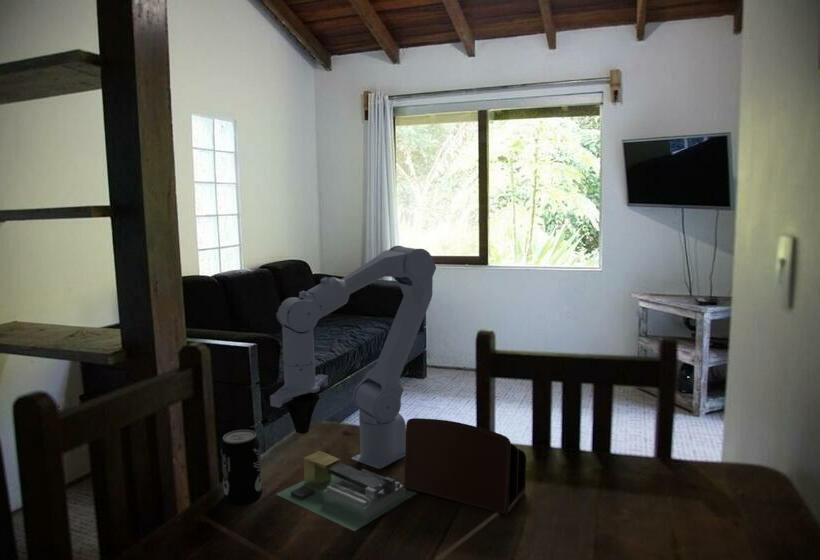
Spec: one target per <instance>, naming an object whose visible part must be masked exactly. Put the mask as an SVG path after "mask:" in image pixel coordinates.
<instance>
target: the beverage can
mask: <svg viewBox="0 0 820 560" xmlns="http://www.w3.org/2000/svg"><path fill="white" fill-rule="evenodd" d="M260 449H261V448H260V440H259V438H258V437H257V433H256V432H255V430H251V429H237V430H232V431H229V432H227V433H225V434H224V435H223V437H222V443H221V445H220V455H221V456H220V457H221V468H222V470H221V471H222V472H221V473H222V483H223V484H222V486H223V499H224V501H225V502H226V503H227V504H230V505H233V506H242V505H249V504H251V503H254V502H255V501H257V500H260V498H261V497H262V494H263V485H262V484H263V483H262V482H263V481H262V471H261V469H262V468H261V453H260V452H261V450H260Z"/></svg>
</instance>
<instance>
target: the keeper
mask: <svg viewBox="0 0 820 560" xmlns="http://www.w3.org/2000/svg"><path fill="white" fill-rule="evenodd" d="M338 463H341V459H340V458H338V457H335V456H333V455H331V454H329V453H326V452H324V451H321V450H318V451H316V452H314V453H311V454H309V455H307V456H305V457H303V481H305V484H307V485H310V486H312V487H314V488H316V487H318V486H320V485H322V484H324V483H326V482H328V481H330V480H331V474H330V473H328V468H330V467H332V466H334V465H336V464H338Z"/></svg>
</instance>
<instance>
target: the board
mask: <svg viewBox="0 0 820 560" xmlns="http://www.w3.org/2000/svg"><path fill="white" fill-rule="evenodd" d="M346 465H347V466H349V467H352V468H354V469H356V470H358V469H357V467H354V466H351V465H349V464H346ZM343 480H344V479H341V478H339V477H337V476H335V475H332V474H331V480H330V481H328V482H326V483H324V484H322V485H320V486H318V487H316V488H314V487H312V486H310V485H307V484H305V481H304V480H301V481H300V482H298V483H296V484H294V485H292V486H289V487H288V488H285V489H284V490H281V491H279V492H277V493H275V496H278V497H280V498H282V499H285V500H286V501H288V502H291V503H292V504H295V505H297V506H299V507H302V508H304V509H305V510H308V511H309V512H312V513H314V514H317V515H318V516H320V517H322V518H324V519H327V520H328V521H331V522H333V523H335V524H337V525H340V526H342V527H344V528H346V529H348V530H350V531H353V532H356V531H358V530H359V529H361V528H363V527H364V526H366V525H367V524H370V522H372V521H374V520H376V519H378V518H379V517H380V516H383V515H384V514H385V513H387V512H389V511H390V510H392V509H394V508H396V507H398V506H399V505H401V504H402V503H404V502H406V501H407V500H408V499H411V498H412V497H414V496H415V495H417V494H418V492H416V491H412V490H408V489H405V488H404V498H405V499H403V500H401V501H400V502H398V503H396V504H395V505H393V506H391V507H390V508H388V509H386V510H385V511H383V512H381V513H380V514H378V515H377V516H375V517H373V518H372V519H370V520H368V521H367V522H363V521H361V520H359V519H357V518H354V517H352V516H350V515H348V514H345V513H343V512H341V511H339V510H337V509H334V508H332V507H330V506H328V505H325V504H324V501H323V491H324V490H326V489H327V487H329V486H333V485H334V483H339V482H341V481H343Z"/></svg>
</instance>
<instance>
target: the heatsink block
mask: <svg viewBox="0 0 820 560" xmlns="http://www.w3.org/2000/svg"><path fill="white" fill-rule="evenodd" d="M360 471H361V472H364V473H366V474H369V475H371V476H373V477H376V478H378V479H381V480H383V481H386V482H387V483H388V487H387V488H385V489H383V490H381V491H379V492H378V493H377V490H376V489H374V488H371V487H367V488H365V489H364V488H362V487H360V486H358V485H355V484H353V483H351V482H348V481H346V480H343V481H341V482H339V483H334V485H333V486H329V487H327V489H326V490H324V491H323V501H324V504H325V505H328V506H330V507H332V508H334V509H337V510H339V511H341V512H343V513H345V514H348V515H350V516H352V517H354V518H357V519H359V520H361V521H363V522H367V521H368V520H370V519H372V518H373V517H375V516H377V515H378V514H380V513H381V512H383V511H385V510H386V509H388V508H390V507H391V506H393V505H395V504H396V503H398V502H400V501H401V500H403V499H405V498H404V484H401V482H399V481H397V480H396V479H394V478H391V477H389V476H384V475H380V474H378V473H375V472H373V471H369V470H367V469H364V468H361V470H360Z"/></svg>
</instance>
